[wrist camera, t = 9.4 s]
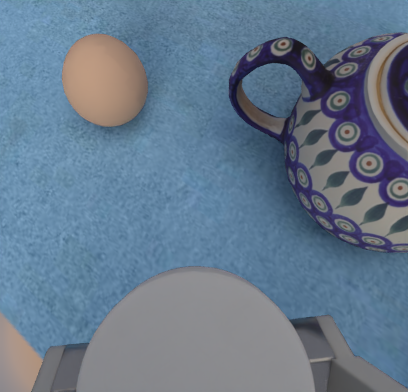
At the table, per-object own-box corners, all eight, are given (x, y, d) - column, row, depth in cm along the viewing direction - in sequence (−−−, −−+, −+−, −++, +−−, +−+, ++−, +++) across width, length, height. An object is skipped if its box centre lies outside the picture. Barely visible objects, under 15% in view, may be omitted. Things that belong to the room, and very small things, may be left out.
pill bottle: (265, 297, 17) (352, 269, 7) (251, 434, 15) (344, 626, 6) (148, 277, 17) (89, 226, 8) (120, 409, 15) (-4, 556, 6)
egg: (117, 67, 34) (96, -5, 26) (167, 108, 32) (159, 45, 25) (63, 110, 32) (24, 47, 24) (113, 155, 31) (88, 103, 23)
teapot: (191, 197, 30) (188, 89, 16) (252, 64, 34) (294, -111, 20) (488, 320, 27) (805, 325, 13) (511, 158, 32) (764, 34, 18)
